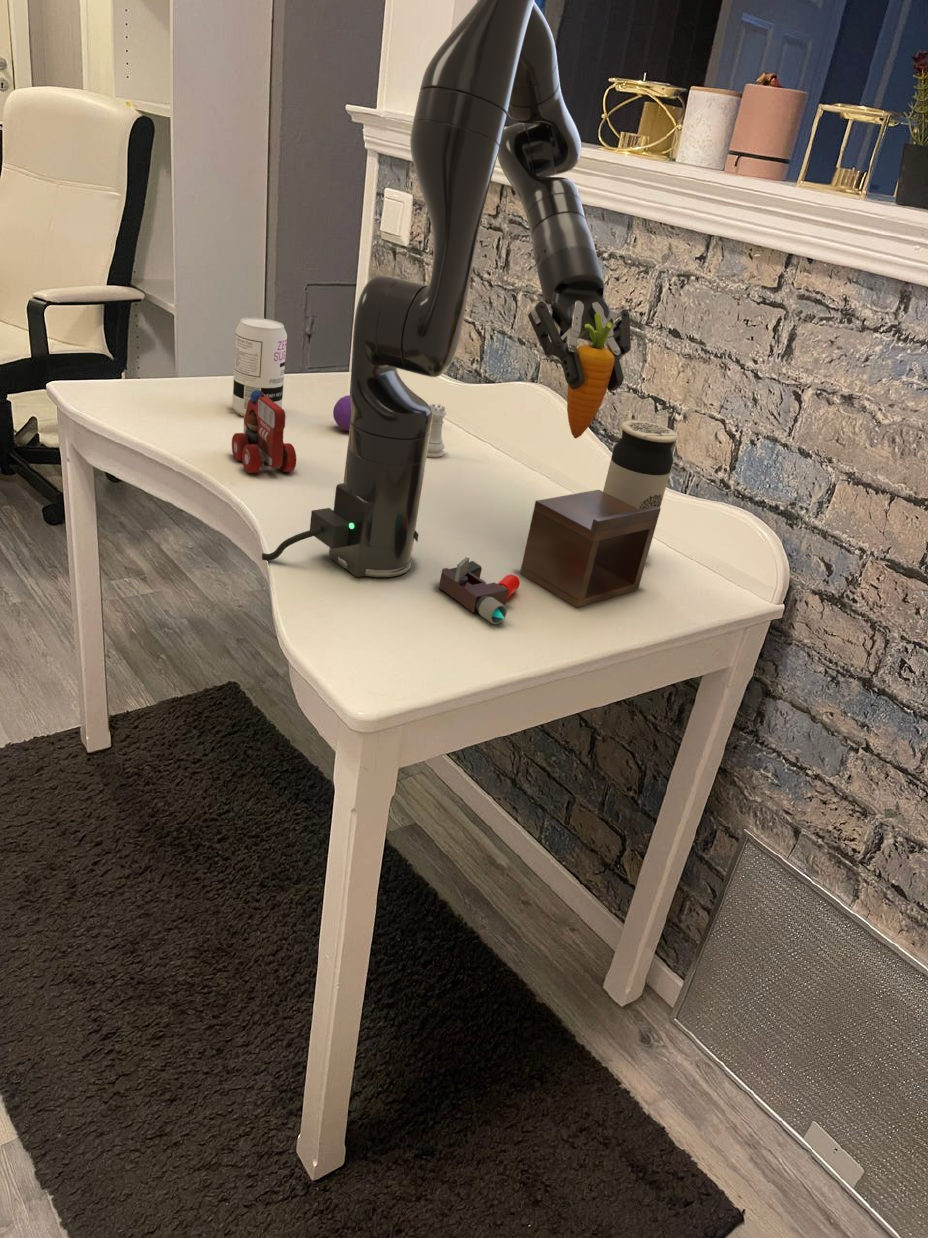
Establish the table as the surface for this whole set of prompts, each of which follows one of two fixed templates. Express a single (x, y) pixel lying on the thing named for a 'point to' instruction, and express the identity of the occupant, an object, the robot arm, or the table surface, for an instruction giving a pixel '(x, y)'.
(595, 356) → the carrot
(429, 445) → the rook chess piece
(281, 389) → the supplement can
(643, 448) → the travel mug
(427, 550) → the table surface
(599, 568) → the shelf
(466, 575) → the toy gun
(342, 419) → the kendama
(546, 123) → the robot arm
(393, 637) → the table surface
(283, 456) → the toy fire truck
